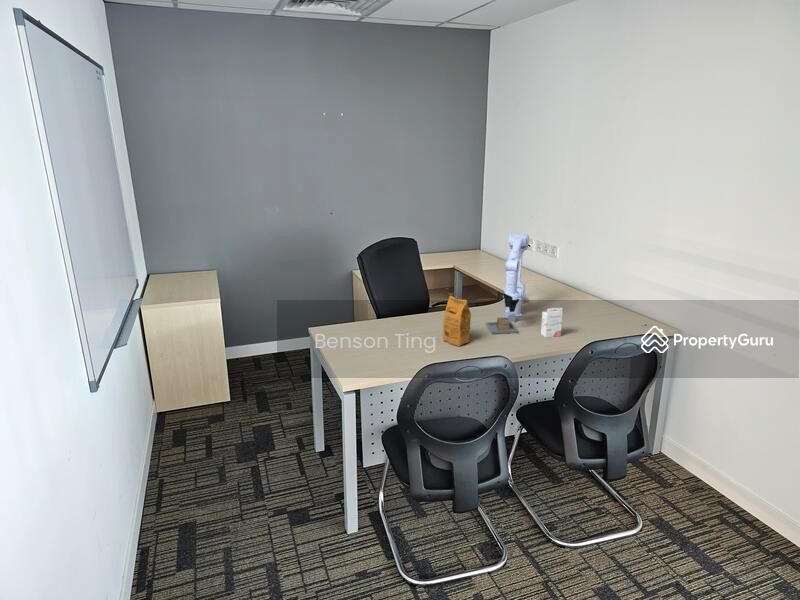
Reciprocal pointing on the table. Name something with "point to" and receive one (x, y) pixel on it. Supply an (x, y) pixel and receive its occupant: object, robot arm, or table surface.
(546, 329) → the ink cartridge box
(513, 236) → the robot arm
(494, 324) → the tray
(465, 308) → the coffee package
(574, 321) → the table surface
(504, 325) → the walnut cube
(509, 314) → the slate blue block
